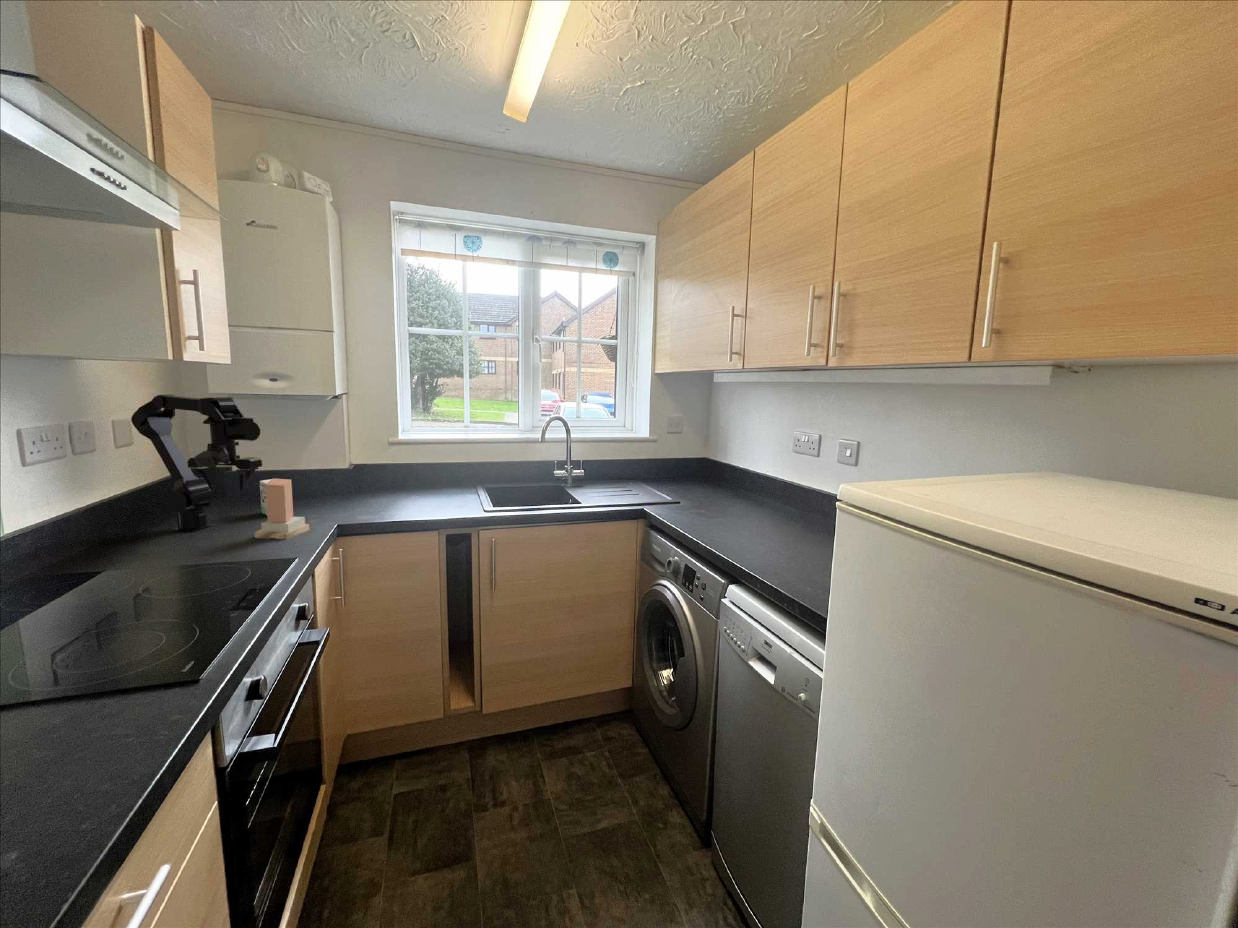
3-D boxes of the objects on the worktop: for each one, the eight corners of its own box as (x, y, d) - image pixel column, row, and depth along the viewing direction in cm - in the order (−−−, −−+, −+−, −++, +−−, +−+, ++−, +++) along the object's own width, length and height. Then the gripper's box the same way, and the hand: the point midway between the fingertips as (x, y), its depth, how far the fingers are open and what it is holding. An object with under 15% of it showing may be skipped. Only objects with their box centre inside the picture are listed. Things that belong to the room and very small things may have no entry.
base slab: (255, 539, 153) (254, 531, 152) (279, 530, 162) (279, 522, 162) (286, 541, 152) (286, 533, 152) (309, 531, 162) (309, 524, 161)
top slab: (262, 531, 153) (261, 523, 152) (279, 523, 161) (279, 516, 160) (288, 532, 153) (288, 524, 152) (305, 524, 161) (304, 517, 160)
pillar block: (267, 521, 153) (265, 484, 149) (275, 514, 157) (272, 478, 154) (286, 522, 154) (284, 485, 150) (293, 515, 159) (291, 479, 155)
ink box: (261, 513, 180) (258, 480, 178) (277, 510, 184) (274, 478, 182) (270, 517, 175) (268, 483, 173) (287, 514, 179) (284, 481, 177)
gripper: (168, 441, 145) (174, 495, 147) (233, 443, 145) (238, 497, 147) (200, 437, 156) (205, 487, 158) (261, 439, 156) (265, 489, 158)
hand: (227, 490), depth 155 cm, fingers open, 9 cm apart
